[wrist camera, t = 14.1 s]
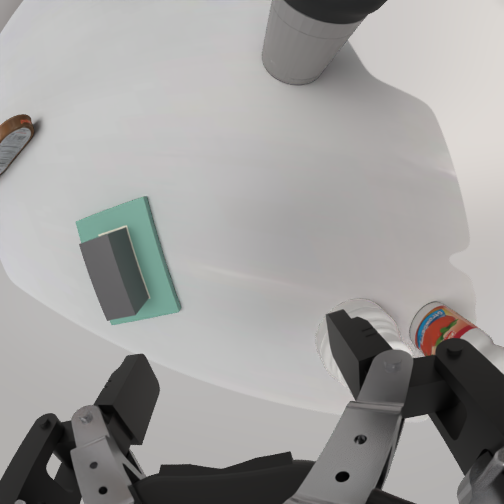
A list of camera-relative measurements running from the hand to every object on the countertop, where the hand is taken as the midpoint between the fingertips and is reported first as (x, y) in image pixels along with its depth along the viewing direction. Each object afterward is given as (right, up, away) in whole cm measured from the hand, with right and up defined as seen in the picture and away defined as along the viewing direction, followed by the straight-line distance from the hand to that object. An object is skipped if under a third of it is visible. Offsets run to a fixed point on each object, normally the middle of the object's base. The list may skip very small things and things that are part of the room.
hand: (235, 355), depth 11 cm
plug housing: (-18, +2, +26) cm, 31 cm away
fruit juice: (+34, -9, +33) cm, 48 cm away
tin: (-41, +22, +22) cm, 52 cm away
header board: (-18, +3, +28) cm, 33 cm away
